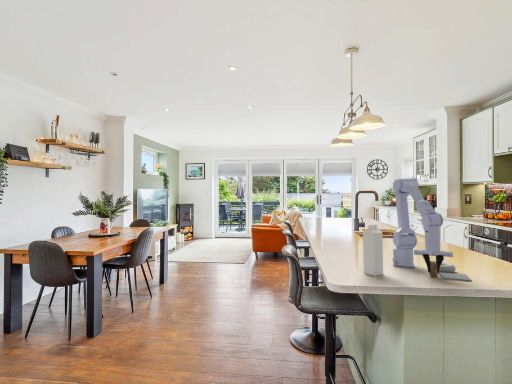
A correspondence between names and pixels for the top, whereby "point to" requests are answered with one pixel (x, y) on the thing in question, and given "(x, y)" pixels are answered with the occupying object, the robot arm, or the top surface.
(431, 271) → the tall brown wooden block
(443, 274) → the mat
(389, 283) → the top surface
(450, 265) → the donut
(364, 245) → the milk
